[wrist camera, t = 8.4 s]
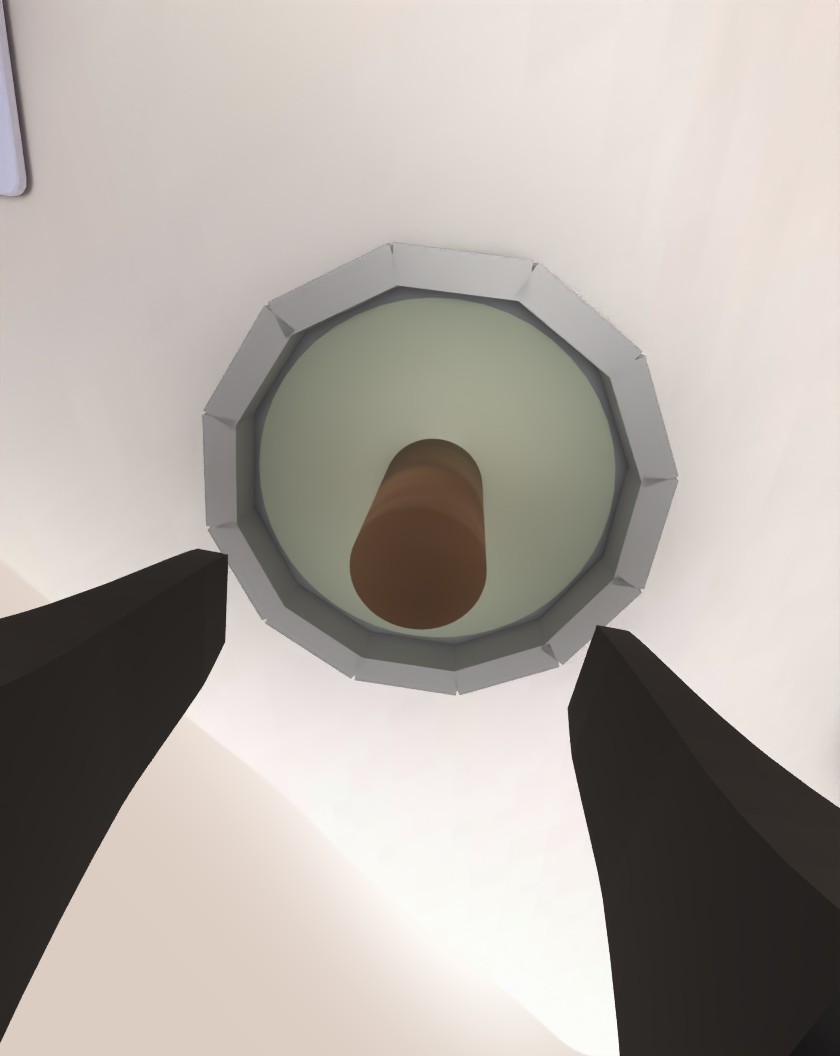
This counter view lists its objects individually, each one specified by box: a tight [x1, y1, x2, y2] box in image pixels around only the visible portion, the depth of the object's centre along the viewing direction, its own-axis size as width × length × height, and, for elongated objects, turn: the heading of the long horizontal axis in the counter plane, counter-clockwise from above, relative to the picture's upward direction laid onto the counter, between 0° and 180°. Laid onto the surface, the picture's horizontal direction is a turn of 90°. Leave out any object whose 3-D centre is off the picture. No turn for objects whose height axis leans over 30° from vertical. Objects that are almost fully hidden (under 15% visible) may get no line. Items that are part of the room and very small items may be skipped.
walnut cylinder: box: [350, 439, 487, 630], centre depth 16 cm, size 3×3×6 cm
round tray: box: [202, 242, 678, 695], centre depth 19 cm, size 14×14×2 cm
